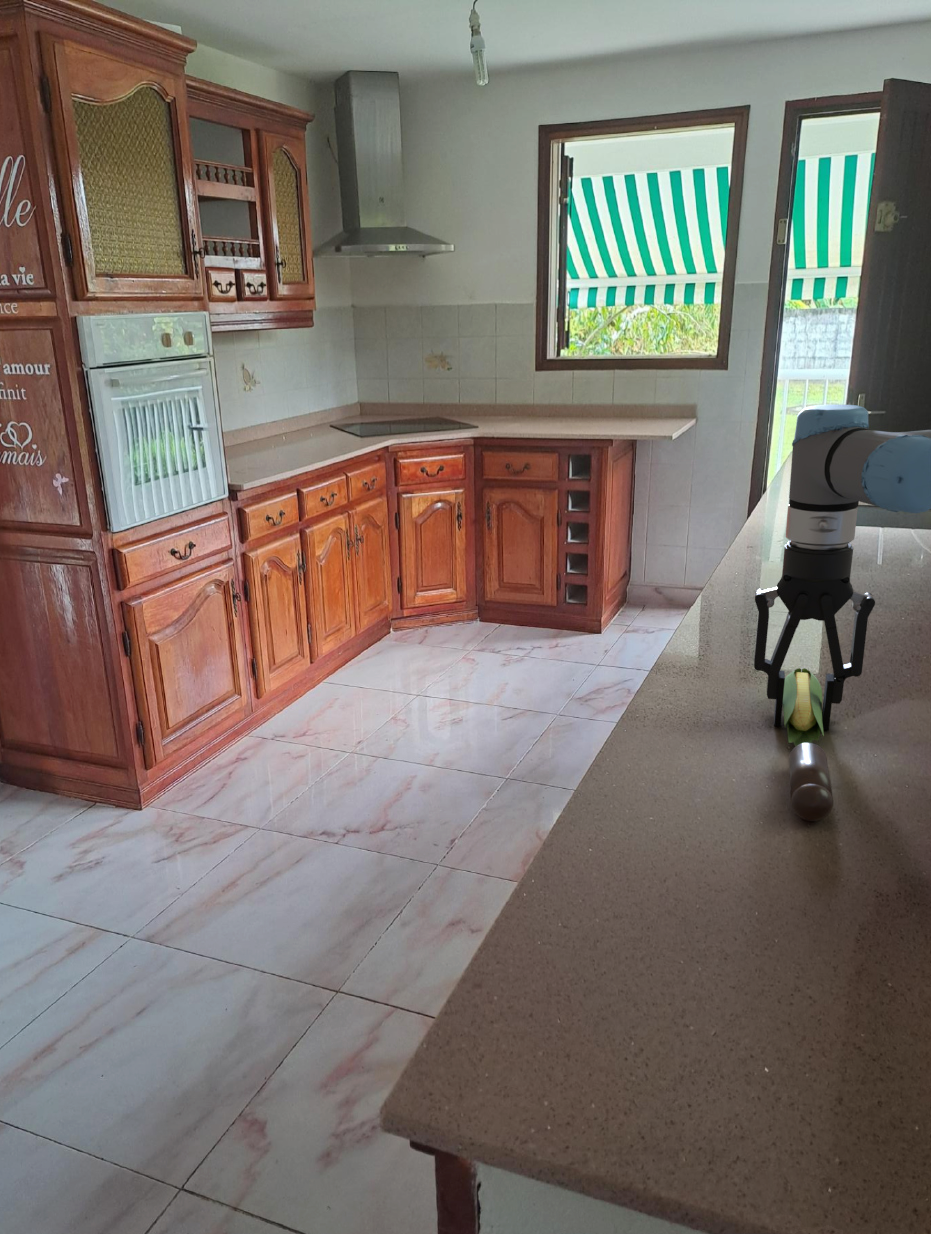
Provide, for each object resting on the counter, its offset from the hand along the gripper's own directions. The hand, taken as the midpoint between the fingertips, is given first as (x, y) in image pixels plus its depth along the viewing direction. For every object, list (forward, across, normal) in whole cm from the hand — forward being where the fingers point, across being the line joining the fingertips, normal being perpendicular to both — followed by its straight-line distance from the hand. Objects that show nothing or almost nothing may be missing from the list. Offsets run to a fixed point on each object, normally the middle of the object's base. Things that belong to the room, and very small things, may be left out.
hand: (800, 723), depth 122 cm
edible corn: (0, 0, 0) cm, 0 cm away
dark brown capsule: (0, 0, -20) cm, 20 cm away
